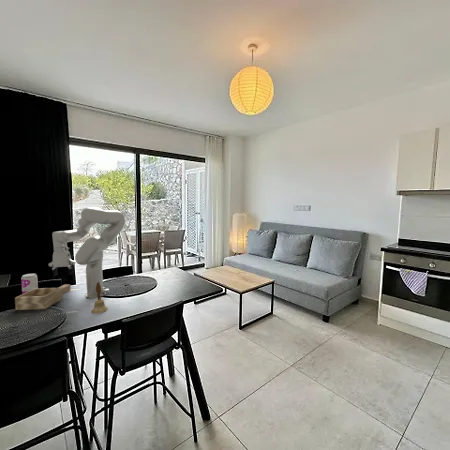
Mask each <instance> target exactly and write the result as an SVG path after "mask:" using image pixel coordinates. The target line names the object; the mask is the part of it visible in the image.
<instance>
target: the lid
mask: <svg viewBox="0 0 450 450" xmlns="http://www.w3.org/2000/svg"><path fill="white" fill-rule="evenodd" d="M57 288H62V295H64V294H66V293H67V292H71V291H79V290H82V288H71V284H67V283H66V284H63V285H61V286H59V287H57Z"/></svg>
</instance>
